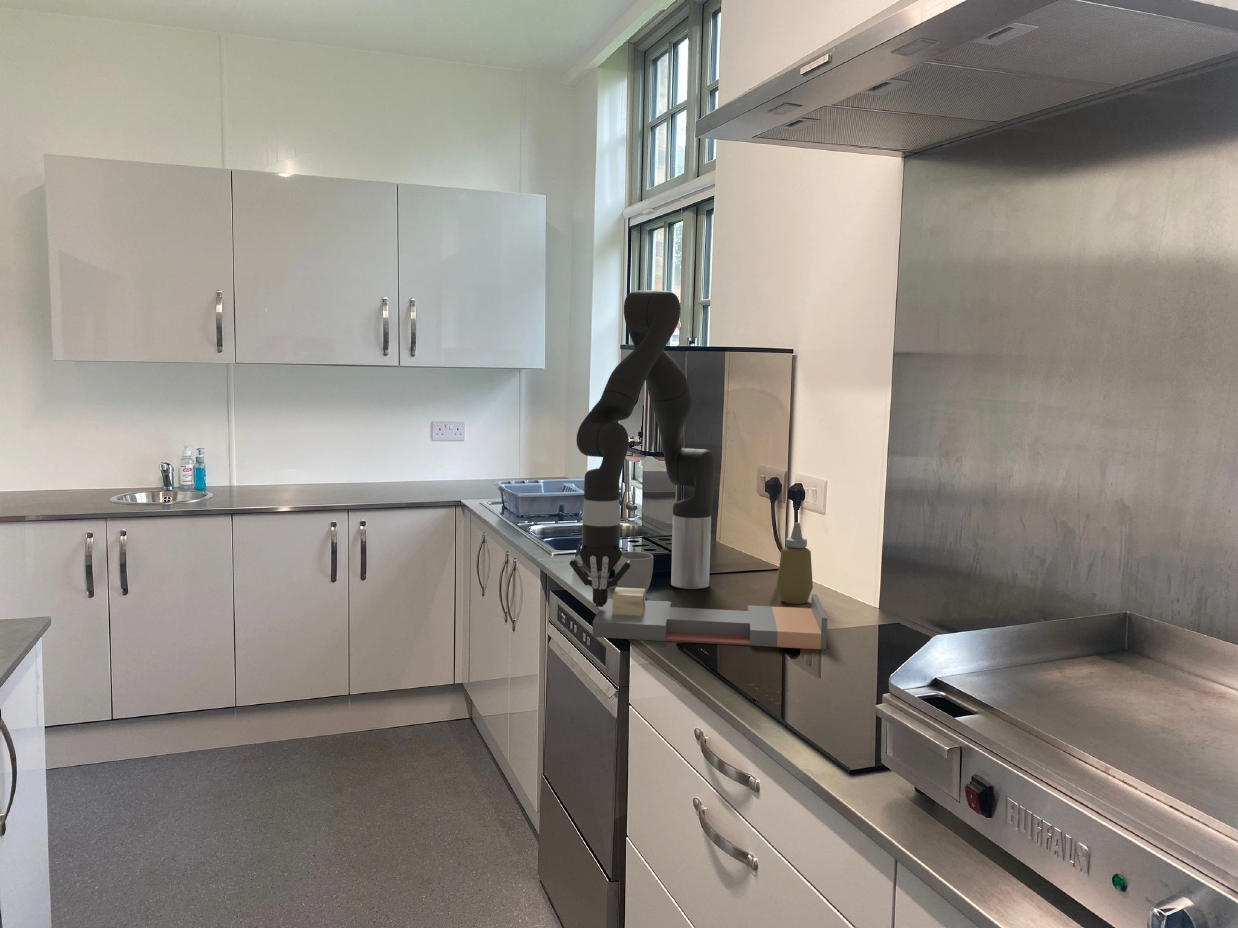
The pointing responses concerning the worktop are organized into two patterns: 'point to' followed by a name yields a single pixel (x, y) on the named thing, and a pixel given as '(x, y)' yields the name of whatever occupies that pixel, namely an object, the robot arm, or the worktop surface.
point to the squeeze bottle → (795, 569)
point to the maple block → (628, 601)
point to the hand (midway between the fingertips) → (599, 605)
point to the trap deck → (719, 625)
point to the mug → (636, 571)
